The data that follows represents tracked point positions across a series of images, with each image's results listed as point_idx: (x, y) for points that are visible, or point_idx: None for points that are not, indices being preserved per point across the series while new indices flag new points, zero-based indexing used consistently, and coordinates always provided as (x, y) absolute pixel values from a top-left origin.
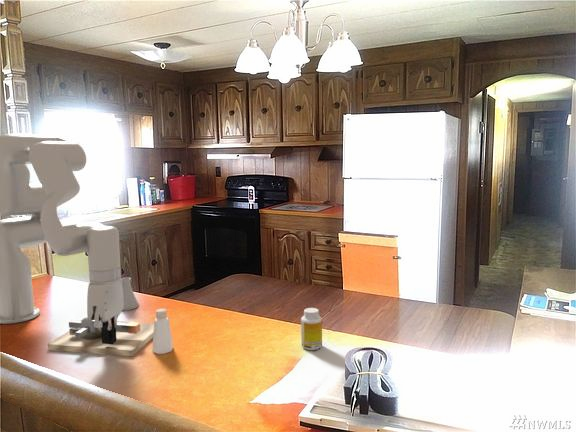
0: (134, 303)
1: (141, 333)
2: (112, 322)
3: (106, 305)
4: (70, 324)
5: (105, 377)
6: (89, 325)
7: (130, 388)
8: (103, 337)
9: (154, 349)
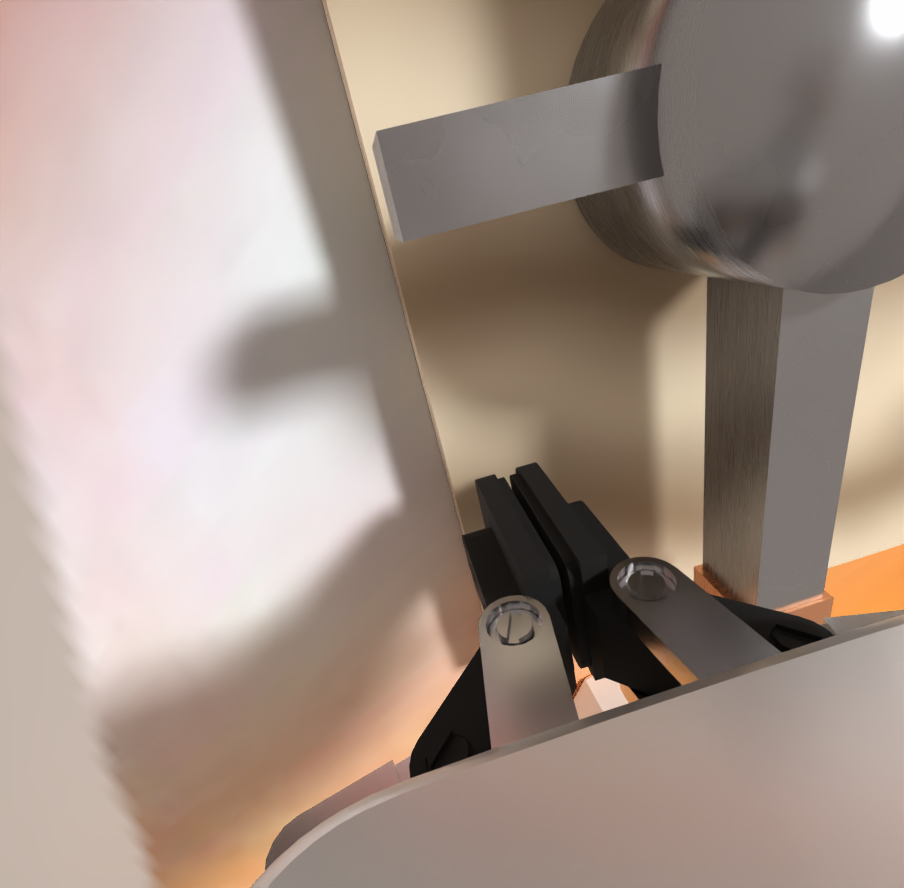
0: None
1: None
2: (657, 690)
3: None
4: None
5: (187, 715)
6: (678, 176)
7: (191, 862)
8: (472, 560)
9: (584, 713)
